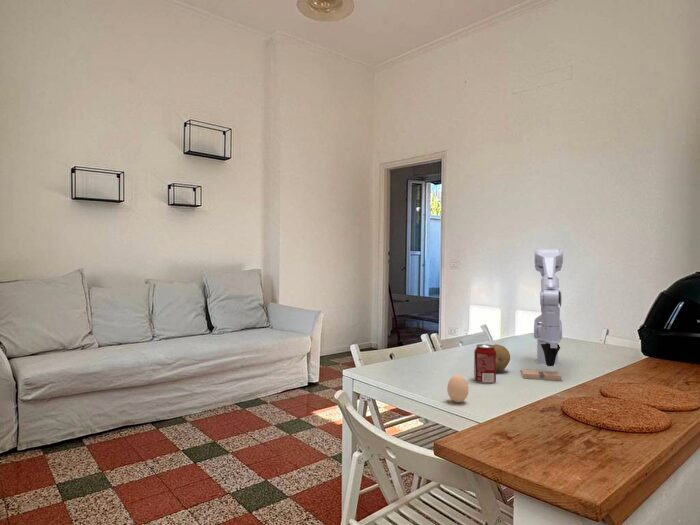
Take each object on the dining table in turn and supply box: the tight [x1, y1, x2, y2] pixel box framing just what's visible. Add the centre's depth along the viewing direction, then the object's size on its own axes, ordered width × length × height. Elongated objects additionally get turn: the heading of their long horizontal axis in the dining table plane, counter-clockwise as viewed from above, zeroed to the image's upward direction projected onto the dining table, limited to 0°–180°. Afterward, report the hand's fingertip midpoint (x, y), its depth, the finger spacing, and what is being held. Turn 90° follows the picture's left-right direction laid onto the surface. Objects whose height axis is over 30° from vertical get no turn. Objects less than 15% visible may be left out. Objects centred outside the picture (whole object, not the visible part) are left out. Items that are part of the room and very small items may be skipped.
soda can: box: [473, 343, 497, 385], centre depth 148 cm, size 7×7×12 cm
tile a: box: [521, 369, 540, 380], centre depth 154 cm, size 2×5×6 cm
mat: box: [519, 369, 564, 382], centre depth 155 cm, size 12×12×1 cm
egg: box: [446, 374, 469, 403], centre depth 127 cm, size 6×6×8 cm
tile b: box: [541, 370, 562, 382], centre depth 152 cm, size 2×5×6 cm
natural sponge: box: [492, 344, 511, 373], centre depth 161 cm, size 9×9×10 cm
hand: (550, 365), depth 154 cm, fingers closed
